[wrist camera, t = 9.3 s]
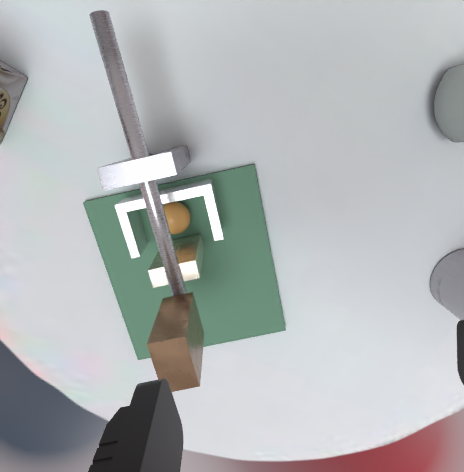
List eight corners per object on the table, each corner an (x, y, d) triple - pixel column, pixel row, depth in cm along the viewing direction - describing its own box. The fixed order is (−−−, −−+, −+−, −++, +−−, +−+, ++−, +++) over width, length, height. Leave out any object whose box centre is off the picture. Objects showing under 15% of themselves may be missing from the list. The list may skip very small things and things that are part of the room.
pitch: (253, 164, 43) (254, 164, 42) (284, 326, 50) (285, 330, 49) (85, 200, 44) (82, 202, 43) (139, 355, 51) (138, 360, 50)
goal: (211, 178, 43) (210, 184, 38) (223, 227, 44) (223, 239, 40) (126, 196, 43) (114, 205, 38) (141, 244, 45) (131, 258, 40)
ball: (187, 219, 39) (195, 236, 43) (184, 192, 41) (192, 210, 45) (153, 226, 39) (164, 243, 43) (152, 199, 41) (162, 216, 45)
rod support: (186, 145, 42) (170, 151, 29) (190, 161, 43) (176, 174, 30) (134, 156, 43) (96, 168, 30) (139, 172, 43) (104, 190, 30)
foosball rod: (151, 37, 37) (89, -45, 20) (214, 288, 46) (210, 384, 29) (107, 47, 38) (7, -25, 20) (178, 296, 47) (152, 395, 29)
